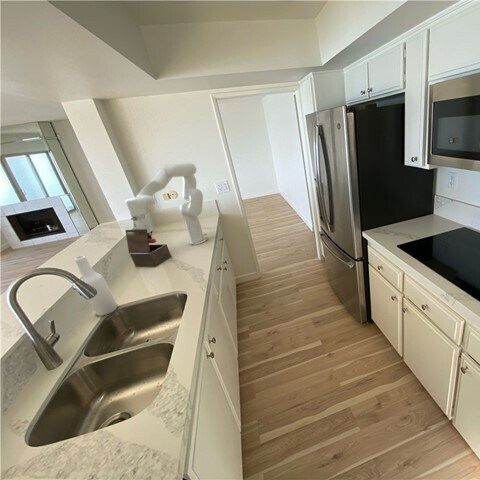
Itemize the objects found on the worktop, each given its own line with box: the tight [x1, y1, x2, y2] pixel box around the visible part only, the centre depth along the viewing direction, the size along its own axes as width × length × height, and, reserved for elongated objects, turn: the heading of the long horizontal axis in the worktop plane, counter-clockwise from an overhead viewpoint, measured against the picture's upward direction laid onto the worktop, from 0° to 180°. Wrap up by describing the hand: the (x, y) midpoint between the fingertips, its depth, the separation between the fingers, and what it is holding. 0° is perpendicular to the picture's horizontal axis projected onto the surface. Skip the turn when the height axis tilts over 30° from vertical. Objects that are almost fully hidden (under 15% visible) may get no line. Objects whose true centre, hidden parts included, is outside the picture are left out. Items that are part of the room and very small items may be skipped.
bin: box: [129, 243, 172, 268], centre depth 181 cm, size 15×17×10 cm
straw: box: [148, 238, 157, 244], centre depth 178 cm, size 12×3×3 cm, turn 77°
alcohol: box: [74, 255, 118, 317], centre depth 126 cm, size 9×9×30 cm
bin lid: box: [124, 229, 150, 254], centre depth 169 cm, size 15×17×5 cm
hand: (148, 242), depth 179 cm, fingers closed on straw, 3 cm apart
